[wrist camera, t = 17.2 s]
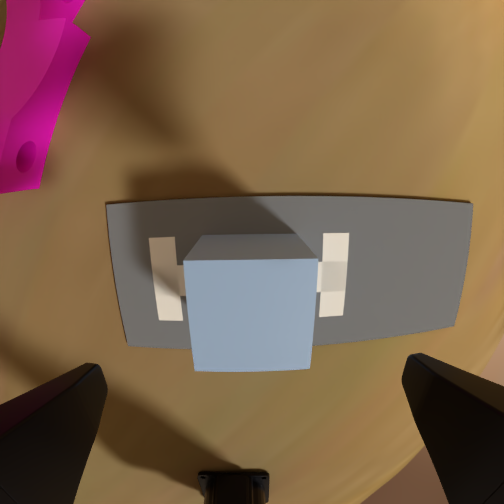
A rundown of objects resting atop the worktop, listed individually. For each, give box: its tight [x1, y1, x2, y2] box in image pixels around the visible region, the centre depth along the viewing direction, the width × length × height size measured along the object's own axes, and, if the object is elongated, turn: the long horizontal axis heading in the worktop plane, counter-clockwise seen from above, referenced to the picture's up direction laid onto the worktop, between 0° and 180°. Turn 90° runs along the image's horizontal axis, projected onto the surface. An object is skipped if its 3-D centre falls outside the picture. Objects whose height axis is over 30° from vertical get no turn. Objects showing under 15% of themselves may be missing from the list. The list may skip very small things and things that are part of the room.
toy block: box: [0, 0, 91, 194], centre depth 9 cm, size 15×6×8 cm, turn 160°
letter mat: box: [106, 196, 473, 349], centre depth 16 cm, size 9×23×1 cm, turn 91°
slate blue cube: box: [183, 234, 318, 372], centre depth 14 cm, size 5×5×5 cm
